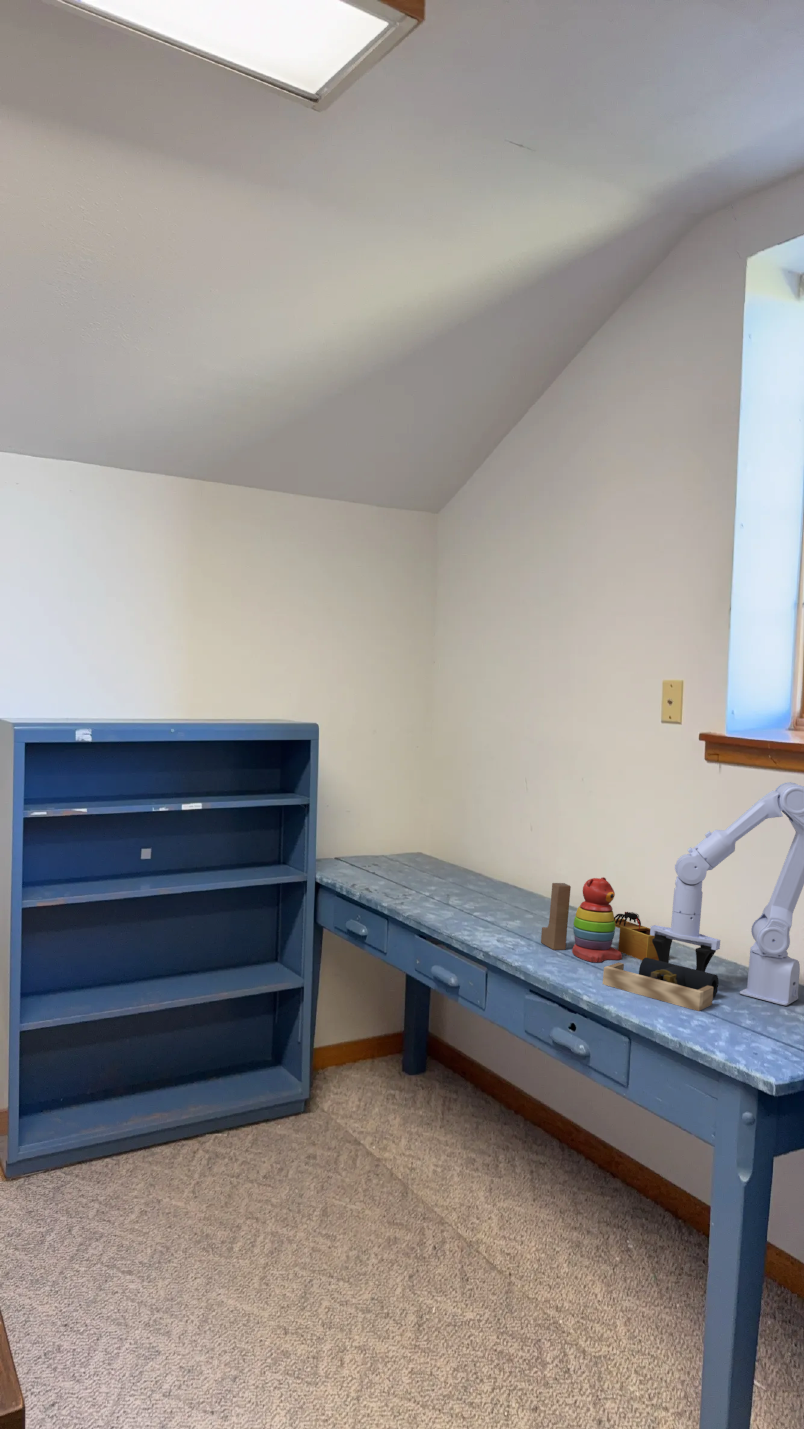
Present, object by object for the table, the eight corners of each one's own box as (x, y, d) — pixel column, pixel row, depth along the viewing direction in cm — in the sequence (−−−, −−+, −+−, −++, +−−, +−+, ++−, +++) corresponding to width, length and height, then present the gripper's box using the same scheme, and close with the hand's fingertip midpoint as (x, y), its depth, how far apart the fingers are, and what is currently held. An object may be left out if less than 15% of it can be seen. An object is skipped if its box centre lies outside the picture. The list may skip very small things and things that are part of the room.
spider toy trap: (621, 943, 231) (624, 905, 231) (666, 960, 218) (669, 920, 218) (600, 945, 228) (604, 906, 228) (645, 962, 215) (649, 921, 215)
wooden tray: (712, 1004, 185) (713, 987, 185) (698, 1011, 180) (700, 993, 180) (617, 979, 198) (618, 962, 198) (602, 984, 193) (603, 967, 193)
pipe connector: (697, 980, 183) (626, 962, 193) (694, 1008, 183) (623, 988, 193) (719, 972, 192) (650, 955, 201) (717, 998, 192) (648, 980, 201)
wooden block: (565, 950, 220) (571, 885, 220) (553, 950, 219) (558, 885, 218) (552, 942, 226) (557, 880, 226) (540, 942, 225) (545, 879, 225)
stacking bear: (593, 963, 209) (600, 883, 209) (560, 952, 217) (566, 875, 217) (625, 959, 216) (632, 881, 216) (592, 948, 224) (598, 873, 224)
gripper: (727, 916, 197) (722, 981, 197) (662, 903, 206) (657, 965, 206) (714, 921, 191) (709, 987, 191) (648, 906, 201) (642, 970, 201)
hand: (681, 976), depth 198 cm, fingers open, 7 cm apart
